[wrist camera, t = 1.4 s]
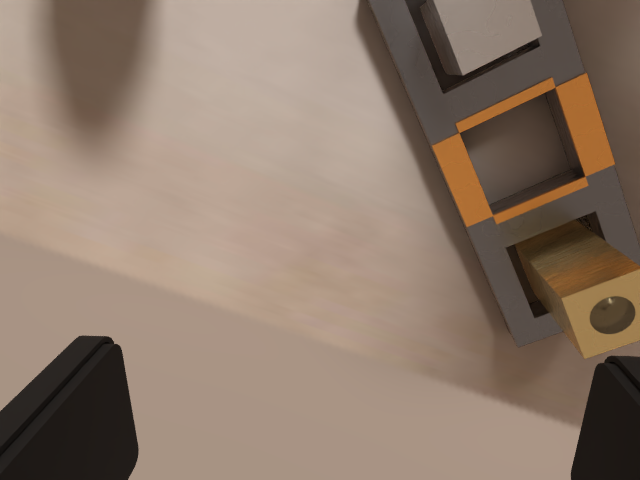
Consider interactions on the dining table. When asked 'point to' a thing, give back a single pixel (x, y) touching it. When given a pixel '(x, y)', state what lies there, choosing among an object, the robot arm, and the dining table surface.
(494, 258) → the rail
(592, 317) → the brass nut
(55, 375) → the robot arm
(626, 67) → the dining table surface
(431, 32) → the block
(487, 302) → the dining table surface
